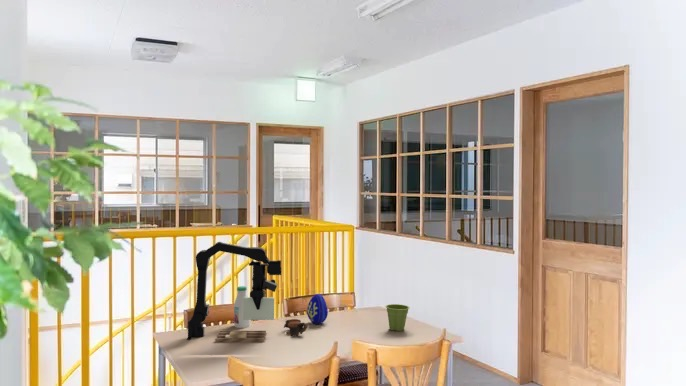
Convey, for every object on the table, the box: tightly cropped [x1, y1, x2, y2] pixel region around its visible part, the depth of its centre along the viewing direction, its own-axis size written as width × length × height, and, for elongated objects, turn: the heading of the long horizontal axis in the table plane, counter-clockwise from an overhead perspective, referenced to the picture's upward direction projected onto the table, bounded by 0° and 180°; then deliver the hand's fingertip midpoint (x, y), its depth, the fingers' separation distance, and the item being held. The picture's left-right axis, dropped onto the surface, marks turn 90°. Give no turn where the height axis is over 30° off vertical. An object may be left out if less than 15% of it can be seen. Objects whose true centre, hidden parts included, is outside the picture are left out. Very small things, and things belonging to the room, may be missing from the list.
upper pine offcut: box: [230, 330, 248, 337], centre depth 237 cm, size 7×3×2 cm, turn 94°
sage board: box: [243, 296, 275, 321], centre depth 246 cm, size 14×2×10 cm, turn 94°
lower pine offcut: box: [225, 335, 247, 338], centre depth 237 cm, size 9×3×2 cm, turn 94°
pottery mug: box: [283, 318, 308, 337], centre depth 253 cm, size 12×9×8 cm
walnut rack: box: [213, 330, 268, 343], centre depth 242 cm, size 22×15×2 cm
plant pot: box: [385, 303, 410, 332], centre depth 264 cm, size 12×12×11 cm
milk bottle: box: [233, 285, 251, 329], centre depth 262 cm, size 8×8×20 cm
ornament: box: [306, 293, 329, 325], centre depth 274 cm, size 11×9×15 cm
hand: (258, 309), depth 246 cm, fingers closed on sage board, 2 cm apart
